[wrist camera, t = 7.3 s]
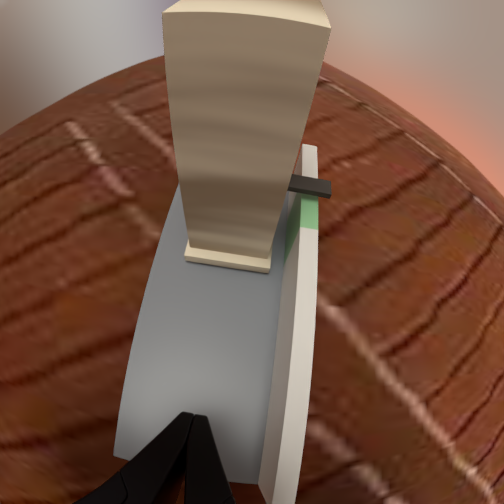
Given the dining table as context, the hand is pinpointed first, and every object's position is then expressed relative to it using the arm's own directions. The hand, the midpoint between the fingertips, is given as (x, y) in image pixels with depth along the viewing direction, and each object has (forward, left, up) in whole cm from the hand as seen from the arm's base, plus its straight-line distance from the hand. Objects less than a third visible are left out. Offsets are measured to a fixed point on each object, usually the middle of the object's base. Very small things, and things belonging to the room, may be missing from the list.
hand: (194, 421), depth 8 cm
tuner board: (+5, +2, -6) cm, 8 cm away
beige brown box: (+10, +3, -4) cm, 11 cm away
